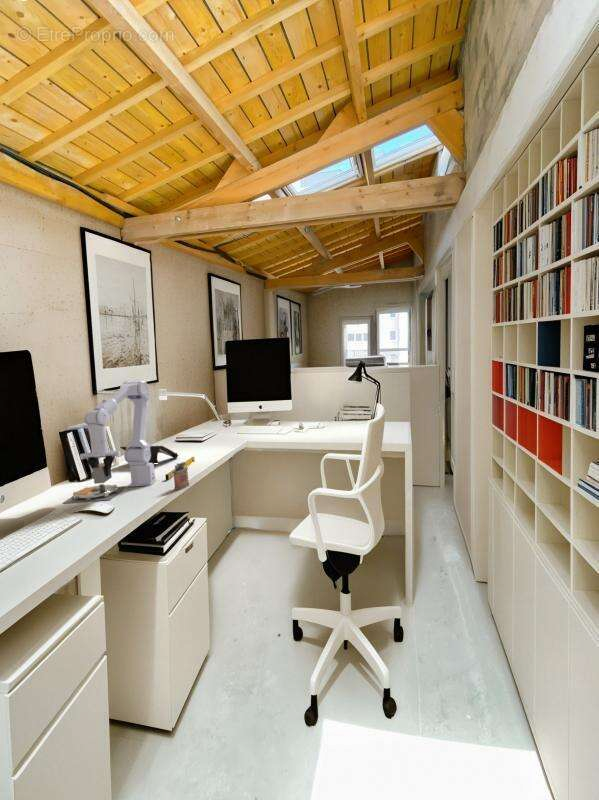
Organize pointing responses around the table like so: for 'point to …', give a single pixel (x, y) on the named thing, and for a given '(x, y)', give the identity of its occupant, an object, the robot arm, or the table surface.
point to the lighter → (181, 476)
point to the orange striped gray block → (100, 474)
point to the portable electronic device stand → (156, 450)
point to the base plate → (72, 500)
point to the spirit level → (170, 474)
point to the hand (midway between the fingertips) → (102, 476)
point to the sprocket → (95, 492)
